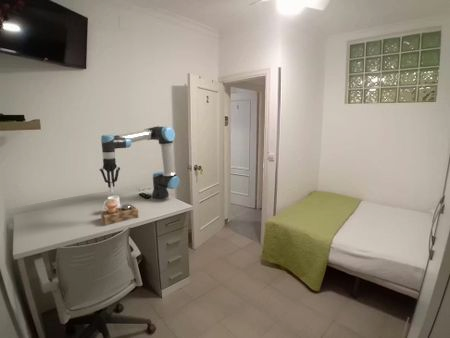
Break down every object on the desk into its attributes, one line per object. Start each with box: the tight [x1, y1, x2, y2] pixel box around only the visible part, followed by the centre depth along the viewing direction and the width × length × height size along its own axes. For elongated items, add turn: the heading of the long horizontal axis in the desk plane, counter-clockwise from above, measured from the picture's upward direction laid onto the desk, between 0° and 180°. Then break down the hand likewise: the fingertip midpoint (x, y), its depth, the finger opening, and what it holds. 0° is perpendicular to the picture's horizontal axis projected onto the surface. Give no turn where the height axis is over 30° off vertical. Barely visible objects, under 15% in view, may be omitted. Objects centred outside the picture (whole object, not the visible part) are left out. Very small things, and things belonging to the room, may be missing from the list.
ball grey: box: [121, 203, 132, 211], centre depth 169 cm, size 6×6×8 cm
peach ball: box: [105, 202, 117, 214], centre depth 162 cm, size 6×6×8 cm
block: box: [100, 204, 139, 226], centre depth 166 cm, size 22×12×6 cm, turn 129°
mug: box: [102, 195, 121, 210], centre depth 176 cm, size 12×8×12 cm
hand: (111, 191), depth 160 cm, fingers closed
